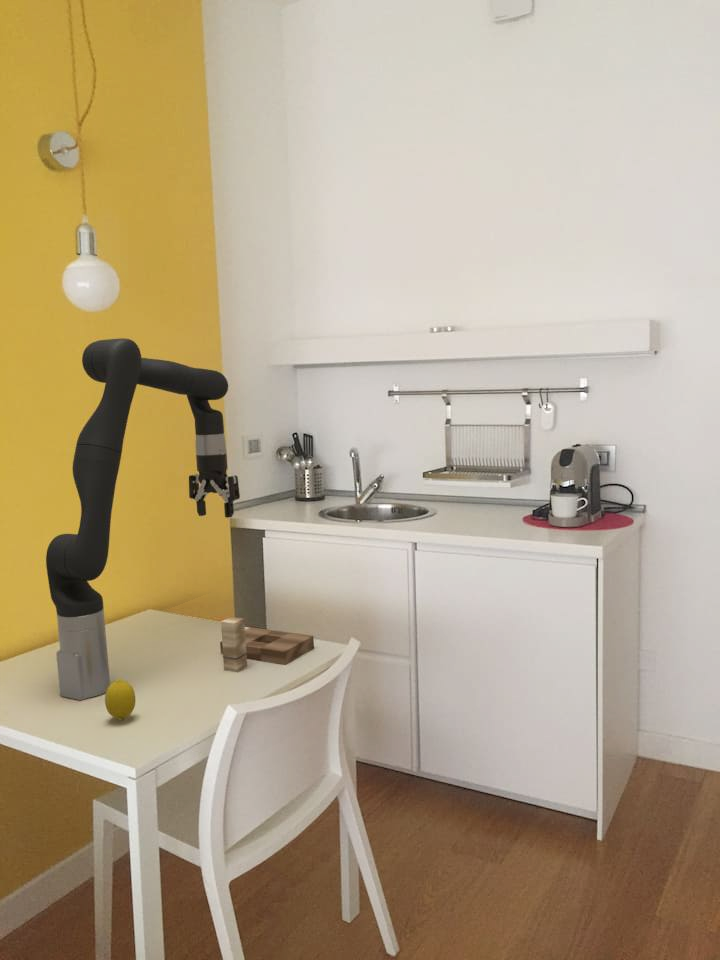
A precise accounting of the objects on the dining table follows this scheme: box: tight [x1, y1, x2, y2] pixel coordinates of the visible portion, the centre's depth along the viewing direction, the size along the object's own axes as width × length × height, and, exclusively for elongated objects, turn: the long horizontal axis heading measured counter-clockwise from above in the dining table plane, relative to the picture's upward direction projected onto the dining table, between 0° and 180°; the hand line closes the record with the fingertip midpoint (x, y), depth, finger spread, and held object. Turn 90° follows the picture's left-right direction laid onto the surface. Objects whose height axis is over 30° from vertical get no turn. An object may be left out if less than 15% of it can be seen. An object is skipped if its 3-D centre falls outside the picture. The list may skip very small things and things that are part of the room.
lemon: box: [104, 678, 136, 721], centre depth 157 cm, size 6×6×8 cm
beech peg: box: [220, 616, 248, 673], centre depth 182 cm, size 4×4×11 cm
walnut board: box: [219, 626, 315, 666], centre depth 192 cm, size 12×18×3 cm, turn 61°
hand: (215, 516), depth 208 cm, fingers open, 8 cm apart
